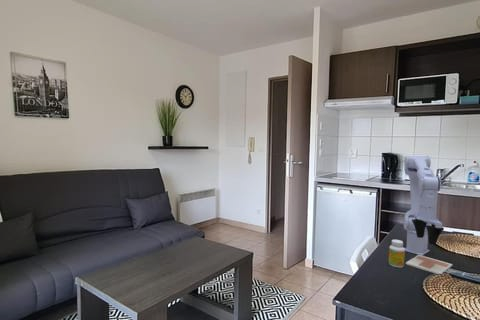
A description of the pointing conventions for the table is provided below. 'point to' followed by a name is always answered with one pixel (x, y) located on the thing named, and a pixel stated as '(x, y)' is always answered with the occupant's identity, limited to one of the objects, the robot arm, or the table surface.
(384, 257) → the table surface
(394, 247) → the supplement bottle
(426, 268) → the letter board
